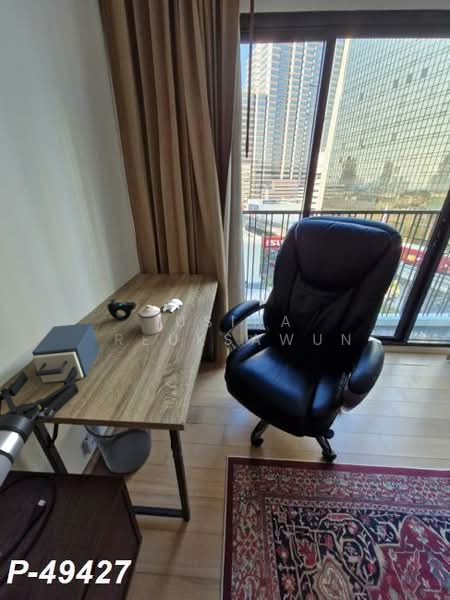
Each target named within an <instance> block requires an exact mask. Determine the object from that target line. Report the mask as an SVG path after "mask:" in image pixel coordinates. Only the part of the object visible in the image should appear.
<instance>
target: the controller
mask: <svg viewBox="0 0 450 600" xmlns="http://www.w3.org/2000/svg"><path fill="white" fill-rule="evenodd" d="M109 301H110V302H109V303H108V304H107V306H106V307H107V311H108V312H109V314H110V316H111V317H112V318H113V319H115V320H117V321H125V320H128V319H129V318H130V317H131V315H132V310H134V309H136V308H137V304H136V303H135V302H134V301H126V302H122V301H121V302H120V301H117V302H116V299H114V298H113V299H110V300H109ZM118 311H122V312H124V313H125V314H124V315H121V314H119V313H118Z"/></svg>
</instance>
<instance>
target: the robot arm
mask: <svg viewBox="0 0 450 600" xmlns="http://www.w3.org/2000/svg"><path fill="white" fill-rule="evenodd" d="M77 374H78V373H77V370H76V367H72V369H71V371H70V372H69V374H68V376H67V378H66V380H63V385H62V386H61V387H59V388H58V389H56V390H54V391H52V392H51V393H50V394H48V395H47V396H45V397H43V398H39V399H37V400H36V401H34V402H27V403H20V404H19V405H15V403H14V400H13V398H12V397H16V396H17V395H18V394H19V392H20V391H21V389H22V388H23V387H24V386H25V384H26V383H27V382H28V380H29V378H28V375H27V373H26V371H22V372H21V373H20V374H19V375H18V377H17V378H16V379H15V380H14V382H12V383H10V384H9V386H8V387H3V388H2V389H0V487H1V486H2V485H3V484H4V481H5V480H6V477H7V476H8V474H9V472H10V470H11V469H12V467H13V465H14V463H15V462H16V460H17V459H18V457H19V455H20V453H21V452H22V450H23V448H24V446H25V444H26V443H27V441H28V440H29V438H30V436H31V434H32V433H33V431H34V428H35V425H36V423H37V422H38V421H39V420H40V419H41V420H42V419H46V421H47V422H49V421H51V420H53V418H55V415H56V414H57V413H58V412H59V411H60V410H61V409H62V408H63V407H64V406H65V405H66V404H67V403H69V402H70V401H71V400H72V399H73V398H75V396H77V394H78V393H79V392H80V390H79V386H78V384H77V380H78V379H76V376H77ZM3 401H4V402H5V403H6V406H7V409H8V410H9V411H7V412H6V413H4V414H3V415H1V414H2V405H3ZM39 405H40V408H39Z"/></svg>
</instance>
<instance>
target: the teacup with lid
mask: <svg viewBox="0 0 450 600" xmlns="http://www.w3.org/2000/svg"><path fill="white" fill-rule="evenodd" d="M161 311H162V310H161V309H160V308H159V306H155V305H151V304H146V305H145V306H144V307H142V308H140V309H139V310H138V312H137V316H138V317H139V323H140V329H141V332H142V333H143V334H144V335H149V336H150V335H156V334H158V333H160V332H161V331H162V330H163V323H162V314H161Z"/></svg>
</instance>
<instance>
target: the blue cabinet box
mask: <svg viewBox="0 0 450 600" xmlns="http://www.w3.org/2000/svg"><path fill="white" fill-rule="evenodd" d="M73 350H75V353H76V355H77V358H78V361H79V364H80V367H81V370H82V373H83V378H86V377H88V375H89V372H90V370H91V368H92V366H93V364H94V362H95V360H96V357H97V355H98V353H99V352H100V347H99V343H98V340H97V337H96V333H95V330H94V326H93V323H92V322H89V323H78V324H66V325H56V326H55V325H54V326H52V328H51V329H50V330H49V332H48V333H46V335H45V336H44V338H42V340H41V341H40V342H39V343H38V344H37V346H36V347H35V348H33V350H32V351H31V354H32V357H34V356H36V355H40V354H43V353H53V352H63V351H73Z"/></svg>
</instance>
